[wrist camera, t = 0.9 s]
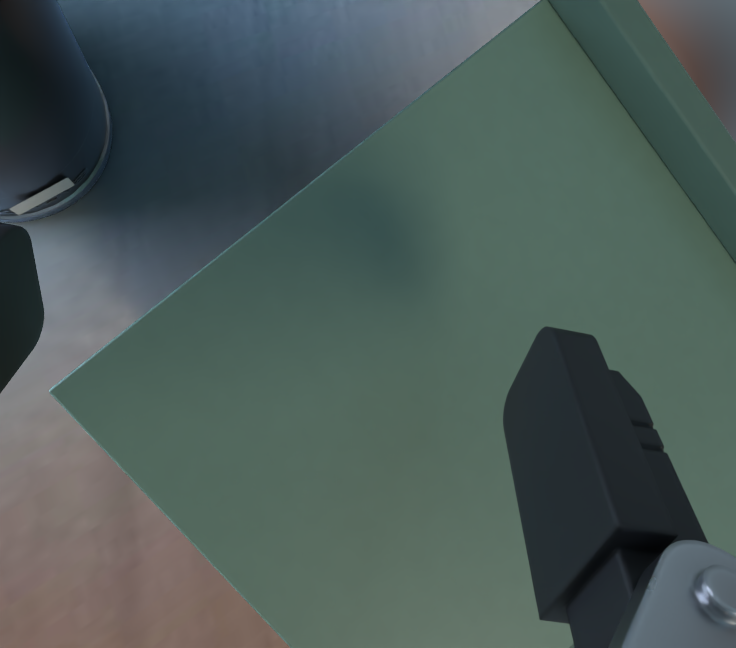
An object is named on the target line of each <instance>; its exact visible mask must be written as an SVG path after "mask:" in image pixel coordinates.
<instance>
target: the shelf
mask: <svg viewBox="0 0 736 648" xmlns="http://www.w3.org/2000/svg"><path fill="white" fill-rule="evenodd" d="M546 326H548V327H553V328H559V329H564V330H569V331H575V332H580V333H586V334H591V335H593V336H594V337H595V338H596V340H597V342H598V344H599V347H600V349H601V351H602V354H603V356H604V359H605V361H606V363H607V366H608V368H609V370H615V371H619V372H620V373H621V374H622V376H623V377H624V378H625V379H626V380H627V381H628V382H629V383H630V385H631V386H632V387H633V388H634V389H635V390H636V391H637V392H638V393H639V395H640V396H641V397H642V399H643V401H644V403H645V406H646V408H647V410H648V412H649V414H650V417H651V419H652V421H653V423H654V425H653V429H656V430H657V432H658V434H659V436H660V438H661V441H662V443H663V445H664V453H667V454H668V456H669V458H670V460H671V462H672V465H673V467H674V469H675V471H676V473H677V475H678V478H679V480H680V482H681V484H682V486H683V489H684V491H685V493H686V495H687V497H688V500H689V502H690V504H691V506H692V508H693V510H694V513H695V515H696V517H697V519H698V521H699V524H700V526H701V528H702V530H703V532H704V534H705V537H706V539H707V541H708V543H709V544H711V545H714V546H716V547H718V548H720V549H722V550H724V551H726V552H727V553H729V554H731V555H732V556H734V557H735V558H736V142H735V141H734V140H733V138H732V137H731V135H730V134H729V132H728V131H727V129H726V128H725V127H724V125H723V124H722V122H721V121H720V119H719V118H718V116H717V115H716V114H715V112H714V111H713V109H712V108H711V106H710V105H709V103H708V102H707V100H706V99H705V98H704V96H703V95H702V93H701V92H700V90H699V89H698V88H697V86H696V85H695V83H694V82H693V80H692V79H691V78H690V76H689V74H688V73H687V72H686V70H685V69H684V67H683V66H682V64H681V63H680V62H679V60H678V58H677V57H676V56H675V54H674V53H673V51H672V50H671V48H670V47H669V45H668V44H667V43H666V41H665V40H664V38H663V37H662V35H661V34H660V33H659V31H658V30H657V28H656V27H655V25H654V24H653V23H652V21H651V19H650V18H649V17H648V15H647V14H646V12H645V11H644V9H643V8H642V6H641V5H640V3H639V2H638V1H637V0H541V1H539V2H538V3H537V4H535V5H534V6H533V7H532V8H530V9H529V10H528V11H527V12H525V13H524V14H523V15H522V16H520V17H519V18H518V19H517V20H515V21H514V22H513V23H511V24H510V25H509V26H508V27H506V28H505V29H504V30H503V31H501V32H500V33H499V34H498V35H496V36H495V37H494V38H493V39H491V40H490V41H489V42H488V43H486V44H485V45H484V46H482V47H481V48H480V49H479V50H477V51H476V52H475V53H474V54H472V55H471V56H470V57H469V58H467V59H466V60H465V61H464V62H462V63H461V64H460V65H458V66H457V67H456V68H455V69H453V70H452V71H451V72H450V73H448V74H447V75H446V76H445V77H443V78H442V79H441V80H440V81H438V82H437V83H436V84H434V85H433V86H432V87H431V88H429V89H428V90H427V91H426V92H424V93H423V94H422V95H421V96H419V97H418V98H417V99H416V100H414V101H413V102H412V103H411V104H409V105H408V106H407V107H405V108H404V109H403V110H402V111H400V112H399V113H398V114H397V115H395V116H394V117H393V118H392V119H390V120H389V121H388V122H387V123H385V124H384V125H383V126H381V127H380V128H379V129H378V130H376V131H375V132H374V133H373V134H371V135H370V136H369V137H368V138H366V139H365V140H364V141H363V142H361V143H360V144H359V145H357V146H356V147H355V148H354V149H352V150H351V151H350V152H349V153H347V154H346V155H345V156H344V157H342V158H341V159H340V160H339V161H337V162H336V163H335V164H334V165H332V166H331V167H330V168H328V169H327V170H326V171H325V172H323V173H322V174H321V175H320V176H318V177H317V178H316V179H315V180H313V181H312V182H311V183H310V184H308V185H307V186H306V187H304V188H303V189H302V190H301V191H299V192H298V193H297V194H296V195H294V196H293V197H292V198H291V199H289V200H288V201H287V202H286V203H284V204H283V205H282V206H280V207H279V208H278V209H277V210H275V211H274V212H273V213H272V214H270V215H269V216H268V217H267V218H265V219H264V220H263V221H262V222H260V223H259V224H258V225H257V226H255V227H254V228H253V229H251V230H250V231H249V232H248V233H246V234H245V235H244V236H243V237H241V238H240V239H239V240H238V241H236V242H235V243H234V244H233V245H231V246H230V247H229V248H227V249H226V250H225V251H224V252H222V253H221V254H220V255H219V256H217V257H216V258H215V259H214V260H212V261H211V262H210V263H209V264H207V265H206V266H205V267H203V268H202V269H201V270H200V271H198V272H197V273H196V274H195V275H193V276H192V277H191V278H190V279H188V280H187V281H186V282H185V283H183V284H182V285H181V286H180V287H178V288H177V289H176V290H174V291H173V292H172V293H171V294H169V295H168V296H167V297H166V298H164V299H163V300H162V301H161V302H159V303H158V304H157V305H156V306H154V307H153V308H152V309H150V310H149V311H148V312H147V313H145V314H144V315H143V316H142V317H140V318H139V319H138V320H137V321H135V322H134V323H133V324H132V325H130V326H129V327H128V328H126V329H125V330H124V331H123V332H121V333H120V334H119V335H118V336H116V337H115V338H114V339H113V340H111V341H110V342H109V343H108V344H106V345H105V346H104V347H103V348H101V349H100V350H99V351H97V352H96V353H95V354H94V355H92V356H91V357H90V358H89V359H87V360H86V361H85V362H84V363H82V364H81V365H80V366H79V367H77V368H76V369H75V370H73V371H72V372H71V373H70V374H68V375H67V376H66V377H65V378H63V379H62V380H61V381H60V382H58V383H57V384H56V385H55V386H53V387H52V388H51V389H50V390H49V392H50V394H51V395H52V396H53V397H54V398H55V399H56V400H57V401H58V402H59V403H60V404H61V406H62V407H63V408H64V409H65V410H66V411H67V412H68V413H69V414H70V415H71V416H72V417H73V418H74V419H75V420H76V421H77V422H78V424H79V425H80V426H81V427H82V428H83V429H84V430H85V431H86V432H87V433H88V434H89V435H90V436H91V437H92V438H93V439H94V440H95V441H96V443H97V444H98V445H99V446H100V447H101V448H102V449H103V450H104V451H105V452H106V453H107V454H108V455H109V456H110V457H111V458H112V459H113V460H114V462H115V463H116V464H117V465H118V466H119V467H120V468H121V469H122V470H123V471H124V472H125V473H126V474H127V475H128V476H129V477H130V478H131V480H132V481H133V482H134V483H135V484H136V485H137V486H138V487H139V488H140V489H141V490H142V491H143V492H144V493H145V494H146V495H147V496H148V497H149V499H150V500H151V501H152V502H153V503H154V504H155V505H156V506H157V507H158V508H159V509H160V510H161V511H162V512H163V513H164V514H165V515H166V517H167V518H168V519H169V520H170V521H171V522H172V523H173V524H174V525H175V526H176V527H177V528H178V529H179V530H180V531H181V532H182V533H183V534H184V536H185V537H186V538H187V539H188V540H189V541H190V542H191V543H192V544H193V545H194V546H195V547H196V548H197V549H198V550H199V551H200V552H201V553H202V555H203V556H204V557H205V558H206V559H207V560H208V561H209V562H210V563H211V564H212V565H213V566H214V567H215V568H216V569H217V570H218V571H219V573H220V574H221V575H222V576H223V577H224V578H225V579H226V580H227V581H228V582H229V583H230V584H231V585H232V586H233V587H234V588H235V589H236V590H237V592H238V593H239V594H240V595H241V596H242V597H243V598H244V599H245V600H246V601H247V602H248V603H249V604H250V605H251V606H252V607H253V608H254V610H255V611H256V612H257V613H258V614H259V615H260V616H261V617H262V618H263V619H264V620H265V621H266V622H267V623H268V624H269V625H270V626H271V627H272V629H273V630H274V631H275V632H276V633H277V634H278V635H279V636H280V637H281V638H282V639H283V640H284V641H285V642H286V643H287V644H288V645H289V646H290V648H569V647H570V646H571V645H572V644H573V643H574V642H573V638H572V633H571V629H570V625H569V624H566V623H558V622H551V621H544V620H540V619H539V613H538V608H537V603H536V598H535V592H534V587H533V582H532V576H531V571H530V566H529V560H528V555H527V550H526V545H525V539H524V534H523V529H522V523H521V518H520V513H519V508H518V502H517V497H516V492H515V486H514V481H513V476H512V471H511V465H510V460H509V455H508V449H507V444H506V439H505V433H504V427H503V412H504V405H505V401H506V397H507V394H508V392H509V389H510V387H511V385H512V383H513V381H514V379H515V377H516V375H517V373H518V371H519V369H520V367H521V365H522V363H523V361H524V359H525V357H526V355H527V353H528V351H529V349H530V347H531V345H532V343H533V341H534V339H535V337H536V336H537V334H538V333H539V331H540V330H541V329H542V328H544V327H546Z"/></svg>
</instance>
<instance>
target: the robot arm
mask: <svg viewBox="0 0 736 648" xmlns="http://www.w3.org/2000/svg"><path fill="white" fill-rule="evenodd" d="M112 135H113V128H112V118H111V113H110V109H109V106H108V102H107V100H106V97H105V95H104V92H103V90H102V88H101V86H100V84H99V82H98V80H97V79H96V77H95V75H94V74H93V72H92V71H91V69H90V68H89V66H88V64H87V62H86V60H85V57H84V55H83V53H82V51H81V49H80V47H79V45H78V43H77V41H76V39H75V37H74V35H73V33H72V31H71V29H70V27H69V25H68V23H67V21H66V19H65V17H64V14H63V12H62V10H61V8H60V6H59V4H58V2H57V0H0V222H8V223H12V222H26V221H32V220H37V219H41V218H44V217H48V216H51V215H53V214H55V213H58V212H60V211H62V210H64V209H66V208H68V207H69V206H71V205H72V204H74V203H75V202H77V201H78V200H79V199H80V198H82V197H83V196H84V195H85V194H86V193H87V192H88V191H89V190H90V189H91V188H92V187H93V185H94V184H95V183H96V182H97V180H98V179H99V177H100V175H101V174H102V172H103V170H104V168H105V166H106V163H107V161H108V158H109V155H110V150H111V145H112ZM43 321H44V308H43V302H42V297H41V291H40V286H39V281H38V275H37V270H36V264H35V259H34V254H33V248H32V243H31V239H30V236H29V234H28V232H27V231H26V230H25V229H24V228H23V227H21V226H15V225H10V224H5V223H0V393H1V392H2V390H3V389H4V388H5V386H6V385H7V384H8V382H9V381H10V380H11V378H12V377H13V376H14V374H15V373H16V372H17V370H18V369H19V367H20V366H21V365H22V363H23V362H24V361H25V359H26V358H27V357H28V355H29V354H30V353H31V351H32V350H33V349H34V347H35V346H36V344H37V342H38V340H39V337H40V334H41V331H42V327H43ZM653 425H654V423H653V421H652V419H651V417H650V414H649V412H648V410H647V408H646V406H645V403H644V401H643V399H642V397H641V396H640V395H639V393H638V392H637V391H636V390H635V389H634V388H633V387H632V386H631V385H630V383H629V382H628V381H627V380H626V379H625V378H624V377H623V376H622V374H621V373H620V372H619V371H615V370H609V368H608V366H607V363H606V361H605V359H604V356H603V354H602V351H601V349H600V347H599V344H598V342H597V340H596V338H595V337H594V336H593V335H591V334H586V333H580V332H575V331H569V330H564V329H559V328H553V327H548V326H546V327H544V328H542V329H541V330H540V331H539V333H538V334H537V336H536V337H535V339H534V341H533V343H532V345H531V347H530V349H529V351H528V353H527V355H526V357H525V359H524V361H523V363H522V365H521V367H520V369H519V371H518V373H517V375H516V377H515V379H514V381H513V383H512V385H511V387H510V389H509V392H508V394H507V397H506V401H505V405H504V412H503V427H504V433H505V439H506V444H507V449H508V455H509V460H510V465H511V471H512V476H513V481H514V486H515V492H516V497H517V502H518V508H519V513H520V518H521V523H522V529H523V534H524V539H525V545H526V550H527V555H528V560H529V566H530V571H531V576H532V582H533V587H534V592H535V598H536V603H537V608H538V613H539V619H540V620H544V621H551V622H558V623H566V624H569V625H570V629H571V633H572V638H573V642H574V643H573V644H572V645H571V646H570V647H569V648H736V558H735V557H734V556H732V555H731V554H729V553H727V552H726V551H724V550H722V549H720V548H718V547H716V546H714V545H711V544H709V543H708V541H707V539H706V537H705V534H704V532H703V530H702V528H701V526H700V524H699V521H698V519H697V517H696V515H695V513H694V510H693V508H692V506H691V504H690V502H689V500H688V497H687V495H686V493H685V491H684V489H683V486H682V484H681V482H680V480H679V478H678V475H677V473H676V471H675V469H674V467H673V465H672V462H671V460H670V458H669V456H668V454H667V453H664V445H663V443H662V441H661V438H660V436H659V434H658V432H657V430H656V429H653Z"/></svg>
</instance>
